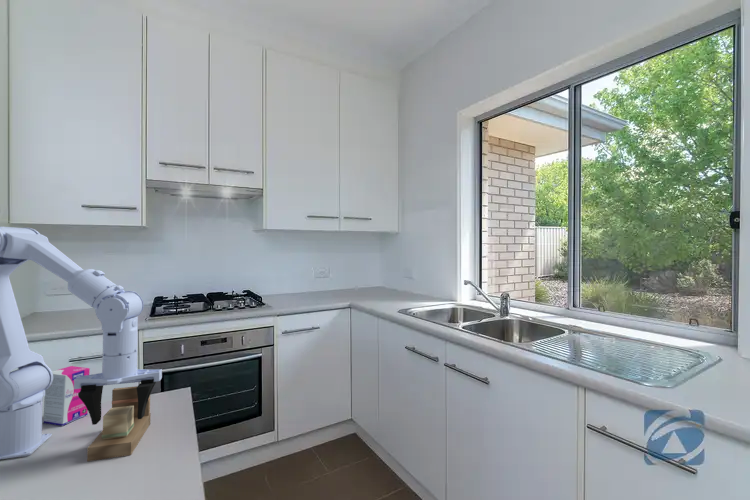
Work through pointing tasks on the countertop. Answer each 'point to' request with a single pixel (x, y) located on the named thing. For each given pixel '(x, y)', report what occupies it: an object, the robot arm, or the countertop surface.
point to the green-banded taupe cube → (118, 422)
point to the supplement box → (64, 397)
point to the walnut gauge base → (123, 444)
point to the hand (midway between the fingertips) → (119, 419)
